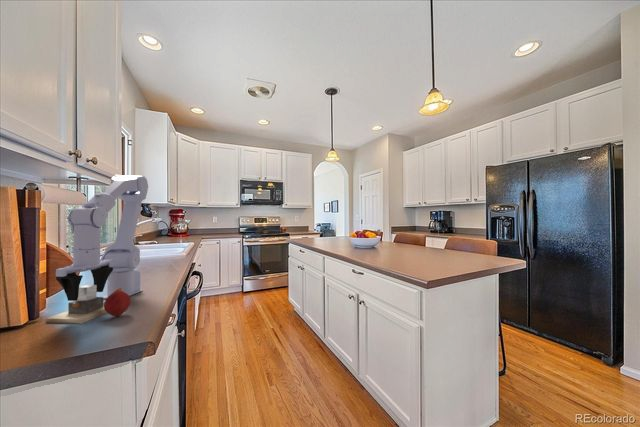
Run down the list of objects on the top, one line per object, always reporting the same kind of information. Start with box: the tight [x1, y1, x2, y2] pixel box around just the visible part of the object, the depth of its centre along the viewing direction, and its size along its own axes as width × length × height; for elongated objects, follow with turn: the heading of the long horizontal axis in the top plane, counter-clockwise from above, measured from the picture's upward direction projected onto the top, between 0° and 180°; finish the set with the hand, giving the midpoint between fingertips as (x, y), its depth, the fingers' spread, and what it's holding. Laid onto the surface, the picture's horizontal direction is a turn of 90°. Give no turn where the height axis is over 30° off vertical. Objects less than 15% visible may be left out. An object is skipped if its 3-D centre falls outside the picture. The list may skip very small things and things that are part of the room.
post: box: [76, 284, 98, 302], centre depth 71 cm, size 3×3×7 cm
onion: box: [103, 288, 132, 317], centre depth 70 cm, size 6×6×8 cm
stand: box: [45, 296, 108, 324], centre depth 71 cm, size 12×10×4 cm
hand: (86, 295), depth 71 cm, fingers open, 7 cm apart
